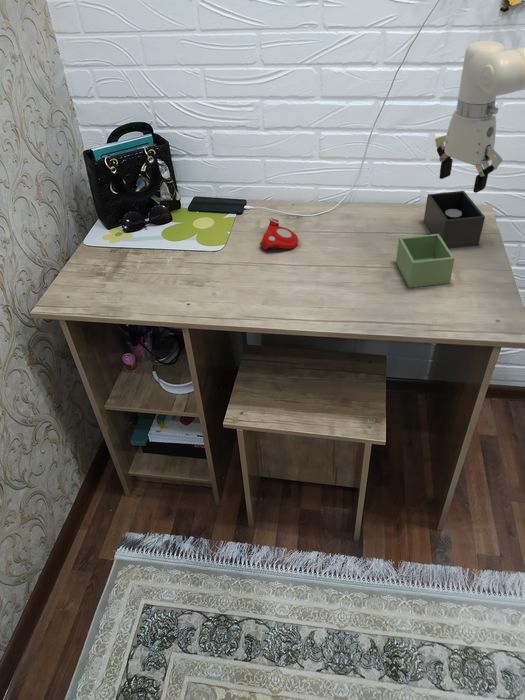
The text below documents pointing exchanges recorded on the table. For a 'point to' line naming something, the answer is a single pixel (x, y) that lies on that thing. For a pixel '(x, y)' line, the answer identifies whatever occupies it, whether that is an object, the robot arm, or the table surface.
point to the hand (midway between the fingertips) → (461, 183)
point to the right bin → (454, 230)
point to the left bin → (424, 260)
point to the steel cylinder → (453, 214)
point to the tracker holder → (278, 236)
